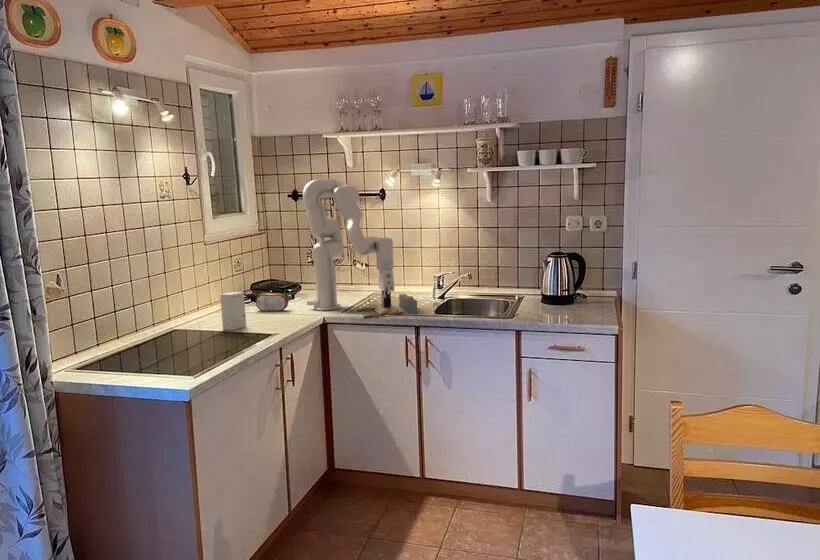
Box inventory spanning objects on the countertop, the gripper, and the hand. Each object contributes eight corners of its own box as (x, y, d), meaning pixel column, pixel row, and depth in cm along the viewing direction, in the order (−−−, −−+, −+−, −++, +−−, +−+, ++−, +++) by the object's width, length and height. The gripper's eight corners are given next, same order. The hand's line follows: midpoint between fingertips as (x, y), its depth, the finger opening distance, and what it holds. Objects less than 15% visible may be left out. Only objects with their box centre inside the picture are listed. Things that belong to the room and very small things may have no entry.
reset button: (409, 304, 283) (408, 297, 282) (407, 303, 285) (407, 296, 284) (413, 303, 283) (413, 296, 283) (412, 302, 285) (411, 296, 285)
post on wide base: (381, 315, 279) (380, 297, 278) (375, 310, 289) (374, 293, 288) (398, 313, 281) (398, 295, 280) (391, 308, 292) (391, 291, 290)
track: (363, 318, 275) (363, 315, 275) (356, 311, 289) (356, 309, 289) (403, 314, 280) (403, 312, 280) (394, 308, 294) (394, 305, 294)
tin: (288, 310, 297) (287, 292, 295) (287, 311, 294) (285, 293, 292) (257, 310, 298) (256, 292, 297) (255, 311, 295) (254, 294, 294)
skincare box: (232, 330, 259) (229, 295, 257) (222, 329, 262) (219, 294, 260) (247, 326, 266) (244, 291, 264) (236, 325, 269) (234, 290, 267)
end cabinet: (410, 314, 279) (410, 301, 278) (399, 307, 296) (399, 294, 295) (417, 314, 280) (417, 300, 279) (405, 306, 297) (405, 293, 296)
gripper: (398, 267, 275) (399, 308, 278) (388, 262, 291) (389, 301, 294) (381, 268, 273) (383, 310, 276) (372, 263, 289) (374, 303, 292)
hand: (386, 305), depth 285 cm, fingers closed on post on wide base, 3 cm apart
